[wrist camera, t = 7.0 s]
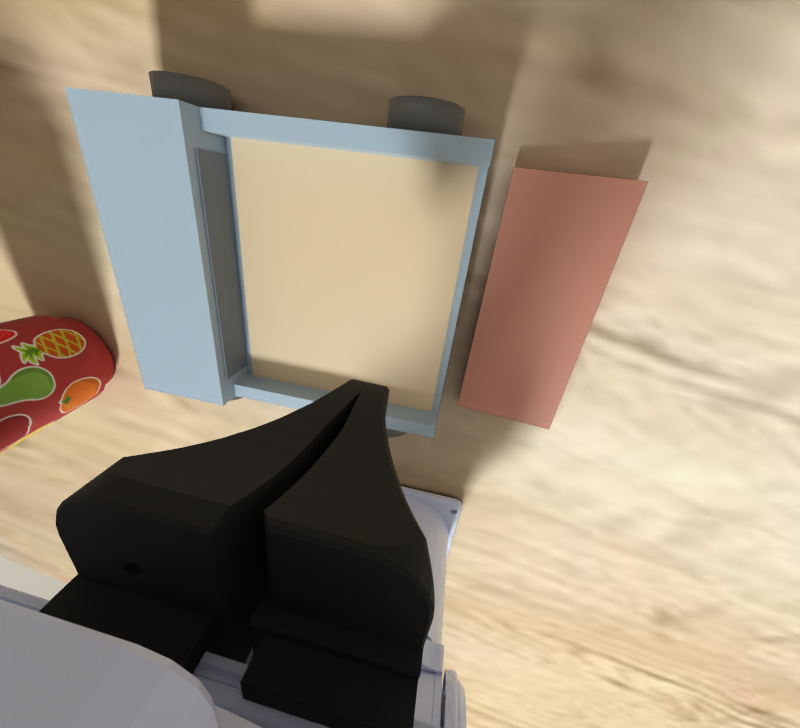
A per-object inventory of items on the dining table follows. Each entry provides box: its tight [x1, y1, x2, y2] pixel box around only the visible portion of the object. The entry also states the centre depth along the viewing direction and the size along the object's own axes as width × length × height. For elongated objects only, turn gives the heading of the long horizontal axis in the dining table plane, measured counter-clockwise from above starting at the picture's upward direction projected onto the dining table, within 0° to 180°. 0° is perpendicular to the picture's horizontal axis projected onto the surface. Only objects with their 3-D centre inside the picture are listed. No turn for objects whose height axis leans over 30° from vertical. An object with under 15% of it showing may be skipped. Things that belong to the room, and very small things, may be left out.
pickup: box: [65, 71, 495, 438], centre depth 18 cm, size 16×17×5 cm
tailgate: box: [458, 167, 648, 429], centre depth 18 cm, size 13×1×6 cm
